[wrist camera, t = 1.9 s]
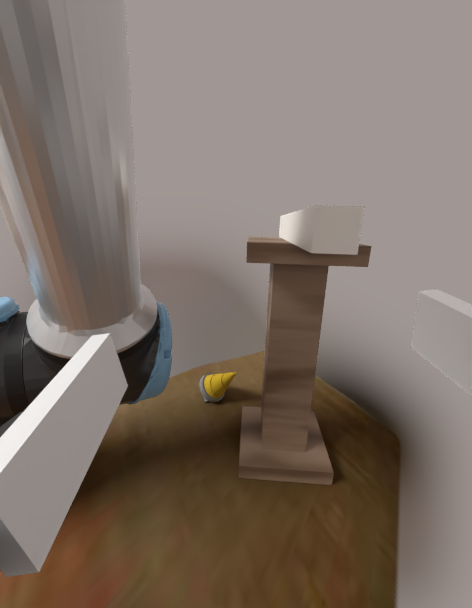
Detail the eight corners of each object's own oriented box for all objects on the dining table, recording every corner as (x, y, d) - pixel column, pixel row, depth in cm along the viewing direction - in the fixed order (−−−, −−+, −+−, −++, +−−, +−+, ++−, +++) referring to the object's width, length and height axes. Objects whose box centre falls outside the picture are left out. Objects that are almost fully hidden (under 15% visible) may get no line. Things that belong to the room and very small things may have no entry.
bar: (357, 254, 18) (364, 206, 17) (311, 253, 18) (316, 205, 17) (299, 237, 41) (301, 216, 40) (279, 236, 41) (280, 216, 40)
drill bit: (214, 387, 56) (247, 366, 51) (211, 412, 52) (247, 392, 47) (193, 376, 54) (225, 353, 48) (188, 401, 50) (223, 379, 44)
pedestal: (331, 485, 35) (371, 246, 26) (238, 477, 35) (247, 242, 27) (312, 420, 46) (335, 239, 38) (242, 415, 47) (249, 236, 38)
